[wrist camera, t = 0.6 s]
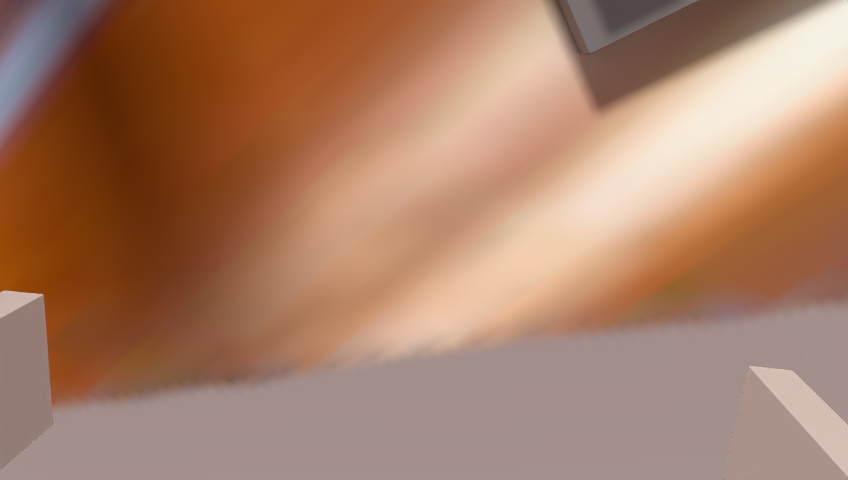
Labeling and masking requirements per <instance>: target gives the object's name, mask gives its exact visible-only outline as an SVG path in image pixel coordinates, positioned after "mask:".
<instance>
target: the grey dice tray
mask: <svg viewBox="0 0 848 480" xmlns="http://www.w3.org/2000/svg"><path fill="white" fill-rule="evenodd" d="M696 1H698V0H558V3H559V5H560V7H561V10H562V12H563V14H564V17H565V19H566V21H567V24H568V26H569V28H570V31H571V33H572V35H573V38H574V40H575V42H576V45H577V47H578V49H579V52H580V54H590V53H593V52H595V51H597V50H599V49H601V48H603V47H605V46H607V45H609V44H611V43H613V42H615V41H617V40H619V39H621V38H623V37H625V36H627V35H629V34H631V33H633V32H635V31H637V30H639V29H641V28H643V27H645V26H647V25H649V24H651V23H653V22H655V21H657V20H659V19H661V18H663V17H665V16H667V15H670V14H672V13H674V12H676V11H678V10H680V9H682V8H684V7H686V6H688V5H690V4H692V3H694V2H696Z"/></svg>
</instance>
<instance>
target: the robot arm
mask: <svg viewBox="0 0 848 480" xmlns="http://www.w3.org/2000/svg"><path fill="white" fill-rule="evenodd" d="M52 425H53V417H52V403H51V389H50V375H49V362H48V348H47V334H46V320H45V307H44V295H43V294H33V293H23V292H14V291H3V292H1V293H0V470H1V469H2V468H3V467H4V466H6V465H7V463H9V462H10V461H11V460H12V459H14V458H15V457H16V456H17V455H18V454H19V453H20V452H22V451H23V450H24V449H25V448H26V447H27V446H29V445H30V444H31V443H32V442H33V441H34V440H35V439H37V438H38V437H39V436H40V435H41V434H42V433H43V432H44V431H46V430H47V429H48V428H49V427H50V426H52ZM723 480H848V425H847V424H846V423H845V422H844V421H843V420H842V419H841V418H840V417H839V416H838V415H837V414H836V413H835V412H834V411H833V410H832V409H831V408H830V407H829V406H828V405H827V404H826V403H825V402H824V401H822V399H820V398H819V397H818V396H817V395H816V394H815V393H814V392H813V391H812V390H811V389H810V388H809V387H808V386H807V385H806V384H805V383H804V382H803V381H802V380H801V379H800V378H799V377H798V376H797V375H796V374H795V373H794V372H793V371H792V370H783V369H774V368H762V367H754V366H748V370H747V375H746V379H745V383H744V388H743V392H742V397H741V401H740V406H739V410H738V415H737V419H736V424H735V429H734V432H733V437H732V441H731V446H730V451H729V455H728V459H727V464H726V468H725V473H724V477H723Z"/></svg>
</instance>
